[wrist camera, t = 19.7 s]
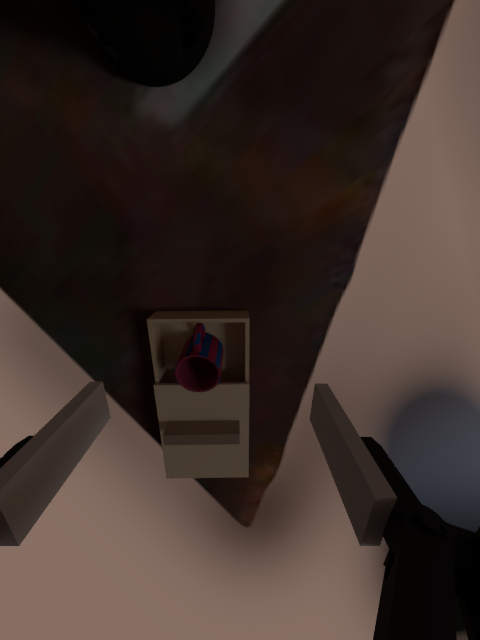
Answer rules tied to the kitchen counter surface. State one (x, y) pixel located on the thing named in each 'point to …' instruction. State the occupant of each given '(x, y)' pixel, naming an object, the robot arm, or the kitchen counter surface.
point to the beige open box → (178, 327)
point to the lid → (204, 430)
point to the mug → (200, 361)
